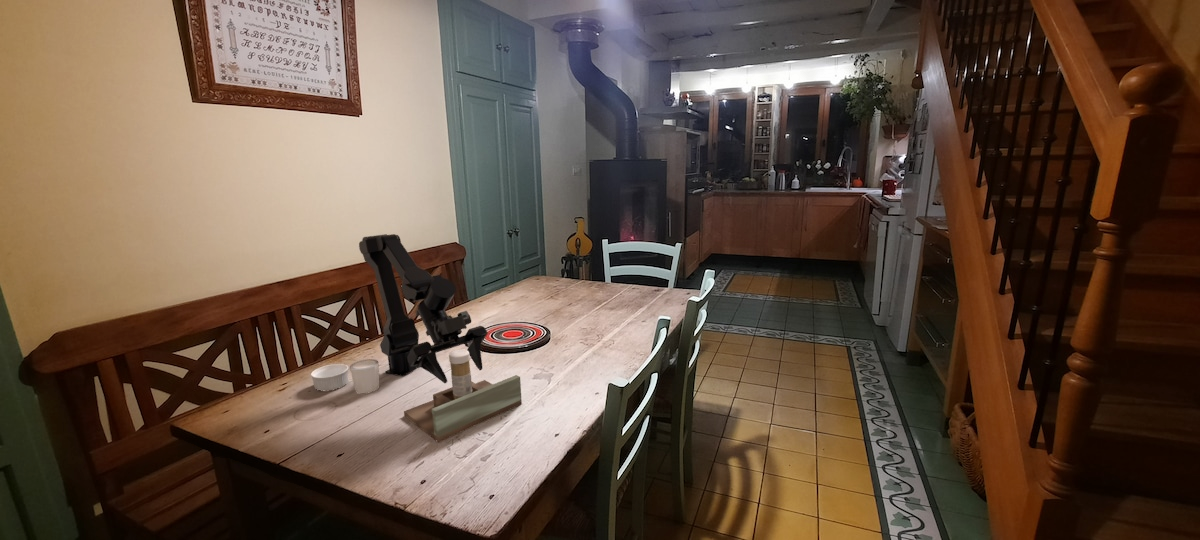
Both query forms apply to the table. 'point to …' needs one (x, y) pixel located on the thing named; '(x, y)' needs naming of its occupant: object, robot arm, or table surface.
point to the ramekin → (330, 377)
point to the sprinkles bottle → (460, 373)
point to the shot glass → (365, 375)
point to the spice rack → (465, 407)
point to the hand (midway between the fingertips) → (464, 375)
